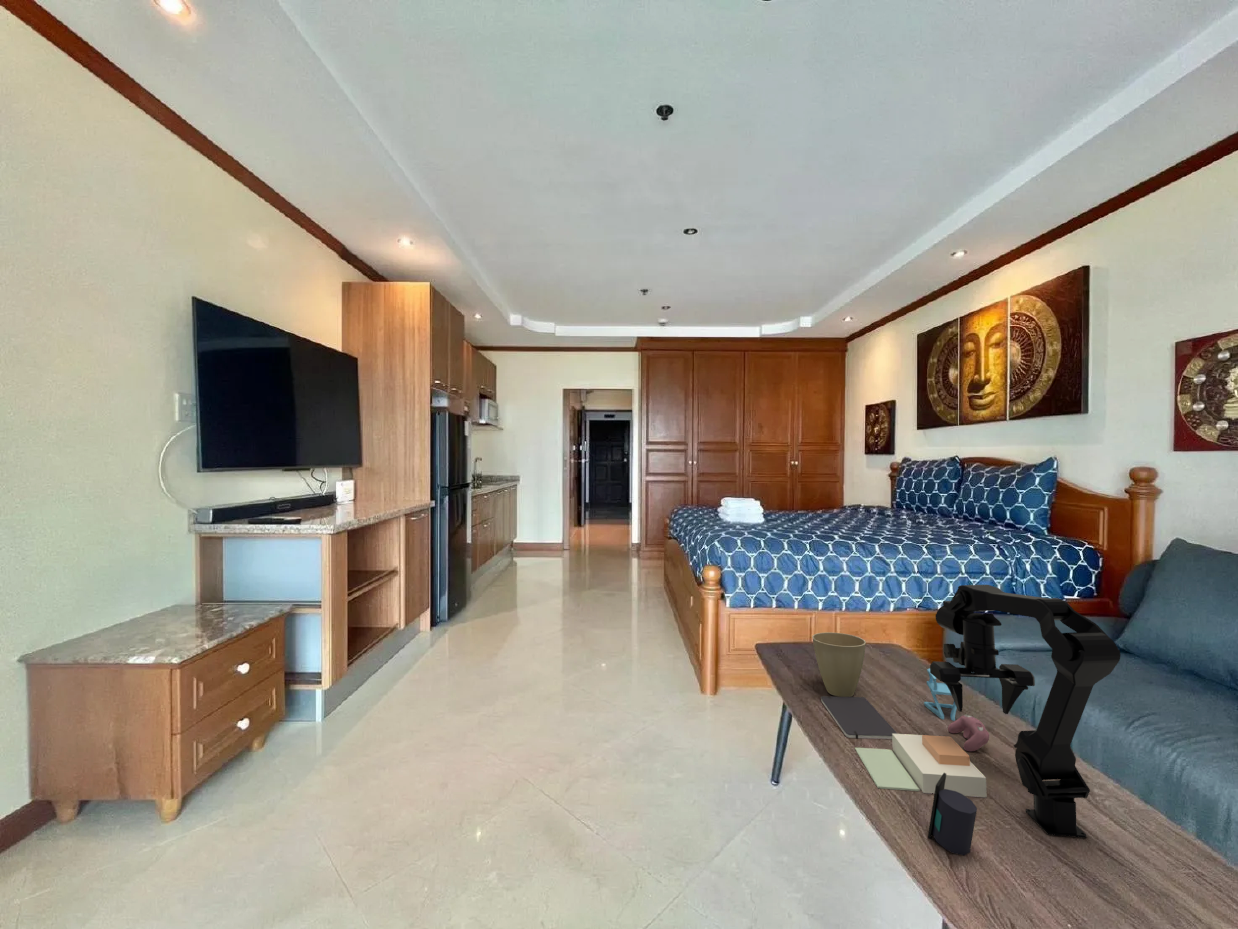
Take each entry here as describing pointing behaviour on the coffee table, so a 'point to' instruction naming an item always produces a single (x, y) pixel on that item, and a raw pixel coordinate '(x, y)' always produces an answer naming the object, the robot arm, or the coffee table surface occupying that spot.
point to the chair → (939, 690)
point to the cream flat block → (936, 768)
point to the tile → (945, 750)
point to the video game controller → (970, 732)
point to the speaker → (952, 819)
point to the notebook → (858, 717)
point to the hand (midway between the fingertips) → (982, 712)
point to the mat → (886, 769)
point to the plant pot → (839, 661)
